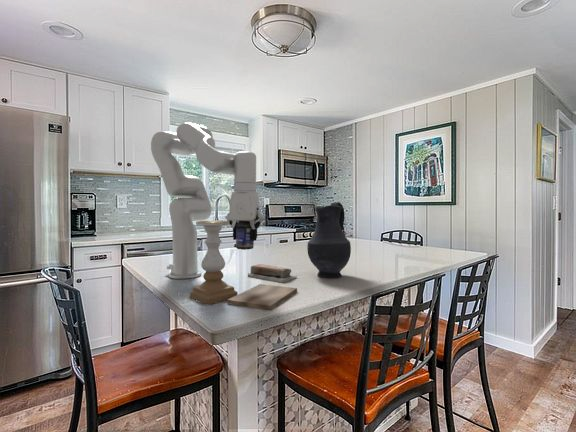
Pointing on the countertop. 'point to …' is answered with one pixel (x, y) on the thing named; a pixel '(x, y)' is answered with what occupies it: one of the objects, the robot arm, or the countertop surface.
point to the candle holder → (213, 268)
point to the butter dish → (271, 273)
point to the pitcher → (329, 242)
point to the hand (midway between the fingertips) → (244, 239)
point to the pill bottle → (243, 235)
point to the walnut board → (262, 296)
